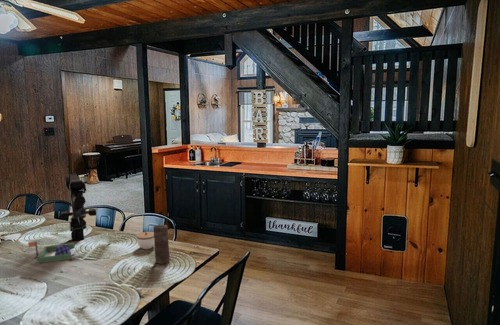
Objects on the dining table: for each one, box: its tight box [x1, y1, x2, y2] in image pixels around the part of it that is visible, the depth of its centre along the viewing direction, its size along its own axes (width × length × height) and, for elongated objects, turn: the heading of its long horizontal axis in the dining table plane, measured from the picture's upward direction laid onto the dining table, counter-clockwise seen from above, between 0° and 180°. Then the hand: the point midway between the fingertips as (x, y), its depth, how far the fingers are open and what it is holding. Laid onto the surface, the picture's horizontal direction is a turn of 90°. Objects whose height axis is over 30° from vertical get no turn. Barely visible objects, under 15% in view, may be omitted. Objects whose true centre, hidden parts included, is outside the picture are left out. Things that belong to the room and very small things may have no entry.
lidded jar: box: [136, 231, 155, 250], centre depth 203 cm, size 11×11×9 cm
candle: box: [152, 224, 171, 265], centre depth 182 cm, size 8×7×20 cm
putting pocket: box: [27, 241, 75, 264], centre depth 192 cm, size 21×18×9 cm
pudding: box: [50, 244, 76, 256], centre depth 194 cm, size 12×12×5 cm
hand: (80, 227), depth 204 cm, fingers closed
